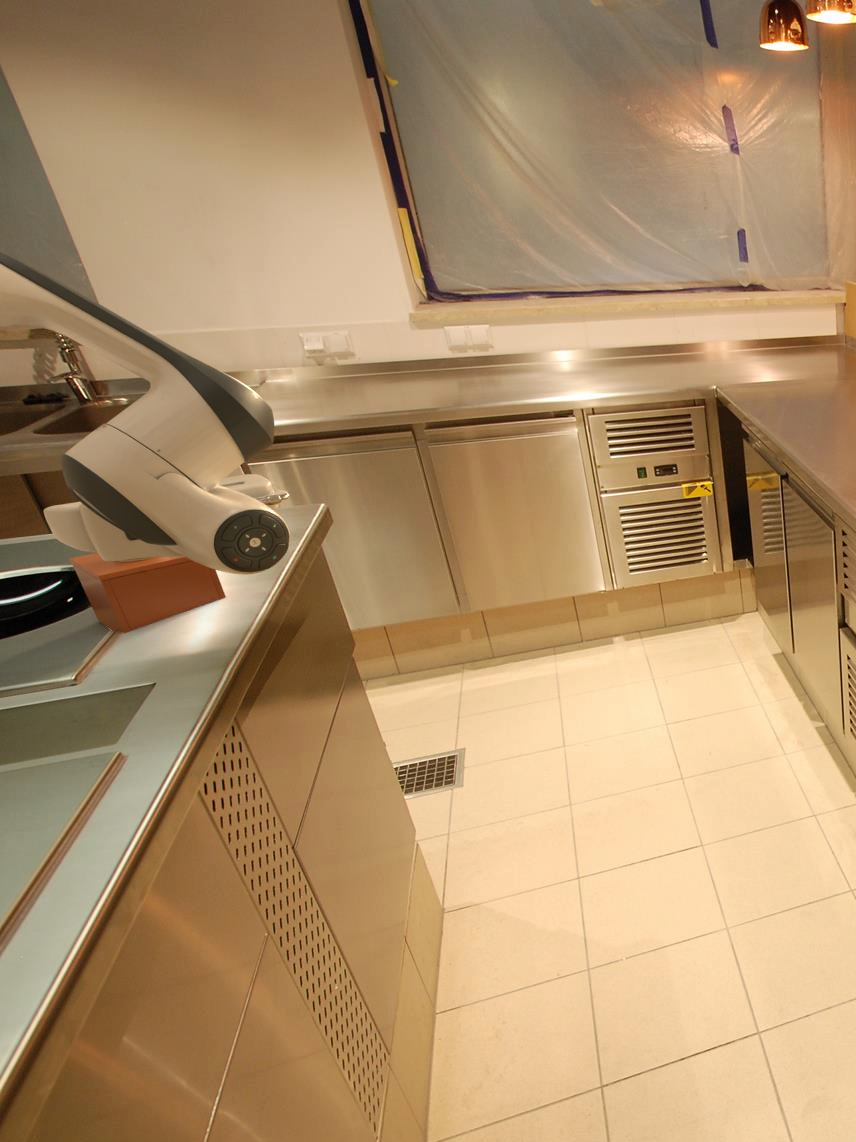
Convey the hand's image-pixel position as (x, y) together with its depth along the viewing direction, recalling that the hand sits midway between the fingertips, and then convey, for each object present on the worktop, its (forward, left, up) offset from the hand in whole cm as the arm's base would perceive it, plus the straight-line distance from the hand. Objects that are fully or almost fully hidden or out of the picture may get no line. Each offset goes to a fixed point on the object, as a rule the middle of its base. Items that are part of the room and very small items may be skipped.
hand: (145, 496), depth 102 cm
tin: (0, +12, -20) cm, 23 cm away
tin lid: (0, +12, -11) cm, 16 cm away
